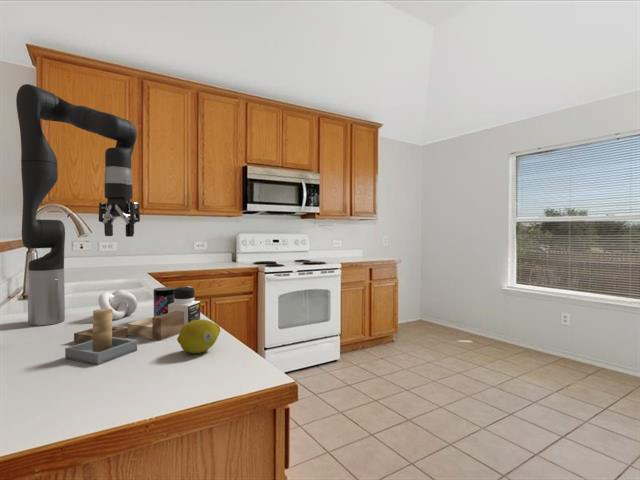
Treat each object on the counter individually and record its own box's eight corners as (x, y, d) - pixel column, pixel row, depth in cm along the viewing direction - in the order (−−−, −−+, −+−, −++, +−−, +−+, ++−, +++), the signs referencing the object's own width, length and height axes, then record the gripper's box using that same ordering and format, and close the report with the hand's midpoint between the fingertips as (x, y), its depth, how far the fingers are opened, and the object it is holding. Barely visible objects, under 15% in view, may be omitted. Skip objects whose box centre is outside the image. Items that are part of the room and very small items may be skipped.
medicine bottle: (188, 328, 112) (188, 289, 111) (167, 327, 113) (167, 288, 113) (200, 322, 119) (200, 286, 118) (180, 321, 120) (180, 285, 120)
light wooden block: (127, 335, 105) (127, 323, 105) (150, 328, 112) (150, 317, 112) (152, 339, 101) (152, 327, 101) (174, 332, 109) (174, 320, 108)
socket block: (74, 342, 97) (73, 333, 97) (104, 333, 106) (104, 325, 106) (98, 346, 94) (98, 336, 94) (127, 336, 102) (127, 328, 102)
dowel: (89, 355, 85) (90, 312, 85) (95, 350, 89) (96, 309, 89) (109, 353, 86) (109, 311, 87) (113, 349, 90) (114, 308, 90)
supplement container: (150, 319, 123) (150, 288, 123) (171, 316, 127) (171, 286, 127) (157, 323, 118) (156, 291, 118) (178, 319, 122) (178, 289, 122)
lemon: (181, 361, 84) (180, 326, 84) (172, 351, 90) (172, 319, 90) (226, 352, 90) (226, 320, 90) (215, 344, 97) (215, 314, 96)
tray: (65, 358, 85) (65, 348, 85) (106, 345, 95) (106, 335, 95) (98, 365, 81) (98, 353, 81) (137, 350, 91) (137, 340, 91)
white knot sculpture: (139, 312, 133) (139, 287, 133) (135, 319, 122) (135, 293, 122) (104, 314, 129) (103, 289, 129) (96, 322, 118) (96, 295, 118)
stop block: (152, 339, 101) (152, 317, 100) (176, 330, 109) (175, 310, 109) (161, 340, 100) (160, 318, 99) (184, 331, 108) (184, 311, 108)
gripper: (90, 182, 110) (91, 236, 110) (125, 180, 105) (126, 236, 105) (112, 185, 117) (112, 236, 117) (146, 183, 112) (146, 236, 112)
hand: (119, 236), depth 111 cm, fingers open, 8 cm apart
